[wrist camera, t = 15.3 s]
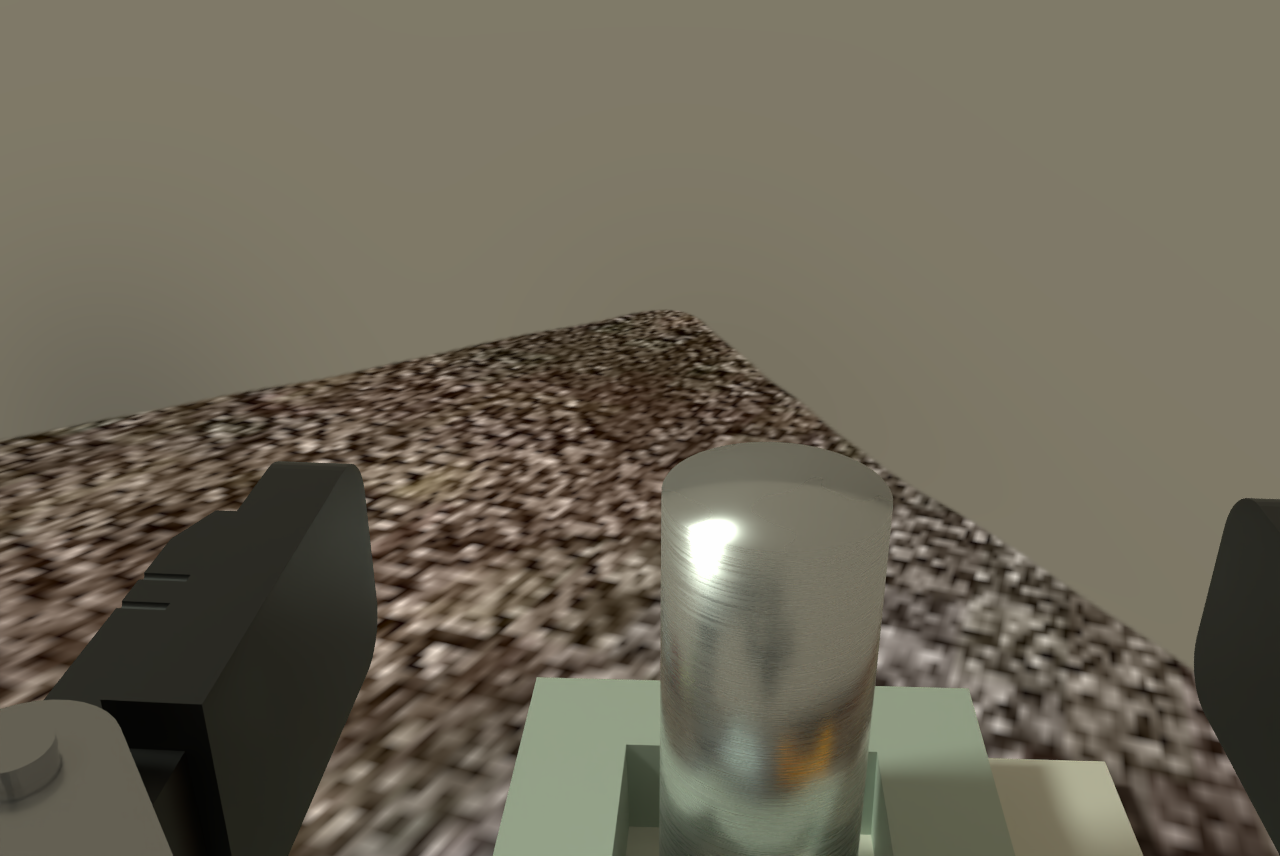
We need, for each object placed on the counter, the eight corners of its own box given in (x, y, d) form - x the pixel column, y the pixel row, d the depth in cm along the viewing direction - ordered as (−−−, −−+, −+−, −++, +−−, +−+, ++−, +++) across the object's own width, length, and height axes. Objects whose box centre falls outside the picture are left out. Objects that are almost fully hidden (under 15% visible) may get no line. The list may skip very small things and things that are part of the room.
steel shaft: (650, 1000, 30) (652, 545, 24) (665, 851, 34) (669, 438, 29) (855, 1016, 30) (904, 557, 24) (843, 862, 34) (882, 446, 29)
